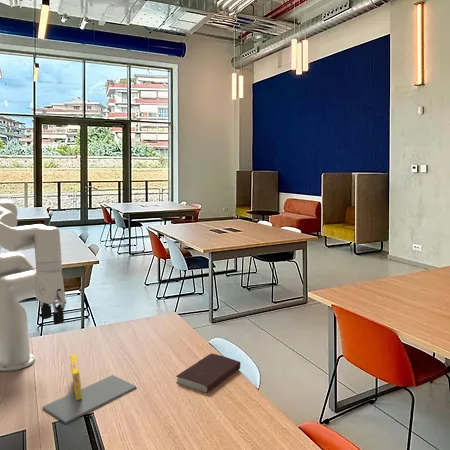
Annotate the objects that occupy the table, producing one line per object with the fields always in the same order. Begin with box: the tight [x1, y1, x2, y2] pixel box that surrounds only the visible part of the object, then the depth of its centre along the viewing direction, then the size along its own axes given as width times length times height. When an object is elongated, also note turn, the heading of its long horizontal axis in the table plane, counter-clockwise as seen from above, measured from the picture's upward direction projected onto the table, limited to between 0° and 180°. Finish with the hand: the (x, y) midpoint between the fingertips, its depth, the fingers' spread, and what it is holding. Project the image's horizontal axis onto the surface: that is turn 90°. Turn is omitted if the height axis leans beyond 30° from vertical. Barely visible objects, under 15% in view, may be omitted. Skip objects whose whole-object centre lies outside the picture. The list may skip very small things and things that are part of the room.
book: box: [175, 352, 241, 394], centre depth 142 cm, size 12×19×3 cm, turn 147°
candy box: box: [69, 353, 82, 400], centre depth 133 cm, size 16×2×8 cm, turn 22°
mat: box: [42, 374, 137, 424], centre depth 129 cm, size 12×24×1 cm, turn 141°
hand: (52, 320), depth 138 cm, fingers open, 6 cm apart
